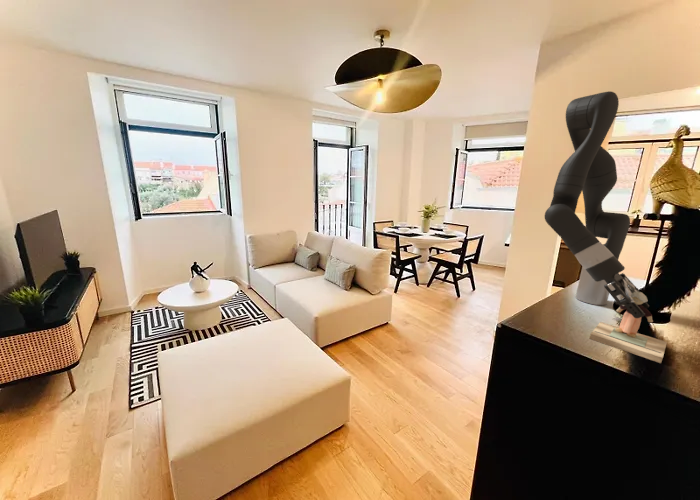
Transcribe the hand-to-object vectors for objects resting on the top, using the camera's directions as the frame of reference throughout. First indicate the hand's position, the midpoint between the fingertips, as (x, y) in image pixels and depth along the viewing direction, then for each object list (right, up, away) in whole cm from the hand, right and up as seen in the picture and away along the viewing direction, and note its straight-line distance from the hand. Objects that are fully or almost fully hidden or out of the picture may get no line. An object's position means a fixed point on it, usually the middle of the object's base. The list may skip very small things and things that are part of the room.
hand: (643, 312), depth 76 cm
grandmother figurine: (0, -7, +4) cm, 8 cm away
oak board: (-2, -9, +3) cm, 10 cm away
